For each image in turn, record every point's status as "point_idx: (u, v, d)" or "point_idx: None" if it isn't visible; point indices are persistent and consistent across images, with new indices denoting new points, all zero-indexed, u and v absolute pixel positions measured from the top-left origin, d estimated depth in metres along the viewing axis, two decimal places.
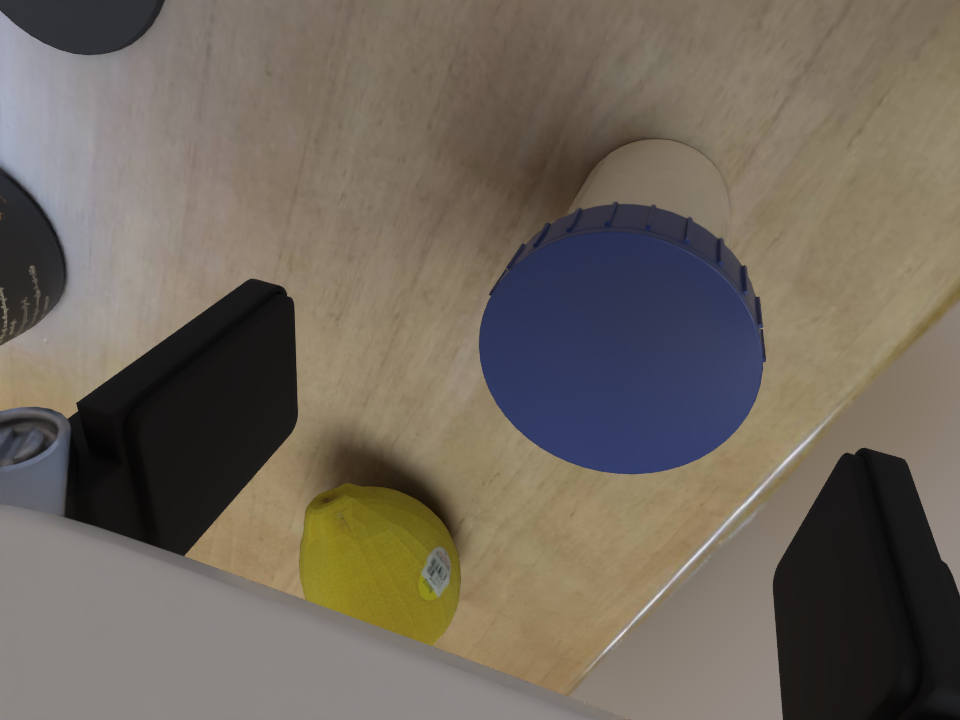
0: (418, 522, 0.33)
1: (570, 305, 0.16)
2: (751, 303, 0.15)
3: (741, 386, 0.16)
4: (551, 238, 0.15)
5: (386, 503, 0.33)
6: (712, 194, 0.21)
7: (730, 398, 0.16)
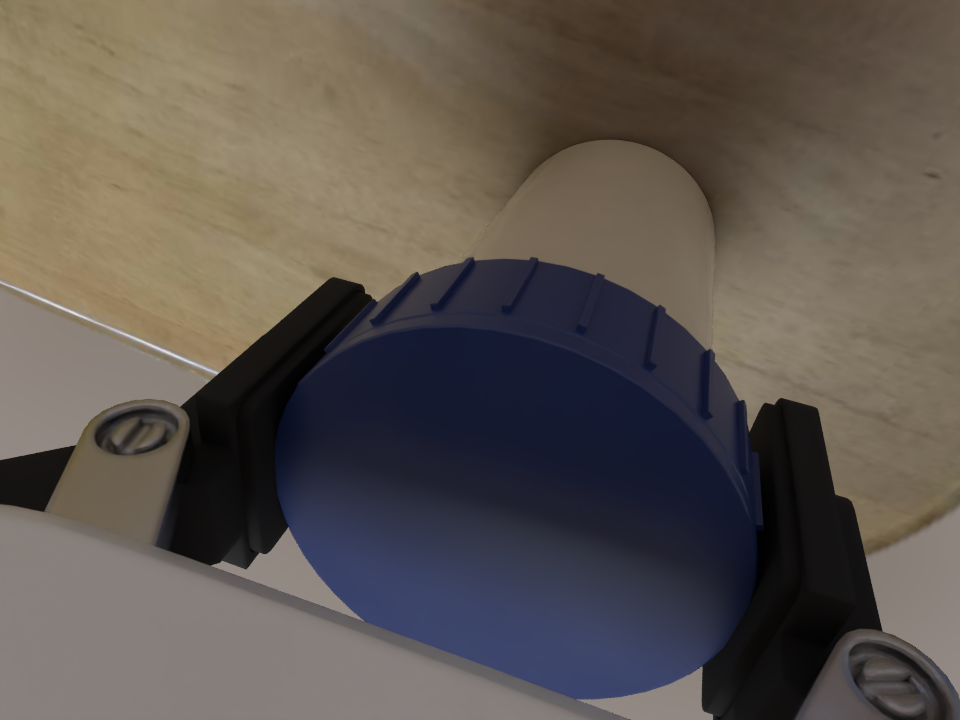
0: None
1: (596, 494, 0.08)
2: None
3: None
4: (726, 448, 0.08)
5: None
6: None
7: (485, 665, 0.11)
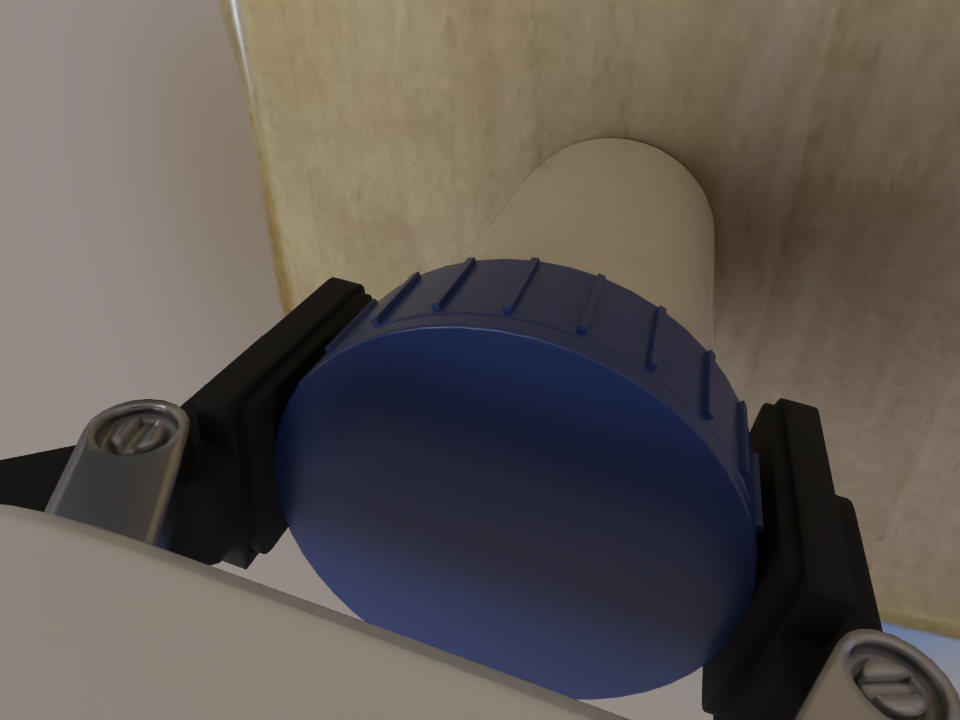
0: None
1: (597, 494, 0.08)
2: None
3: None
4: (726, 448, 0.08)
5: None
6: None
7: (484, 665, 0.11)
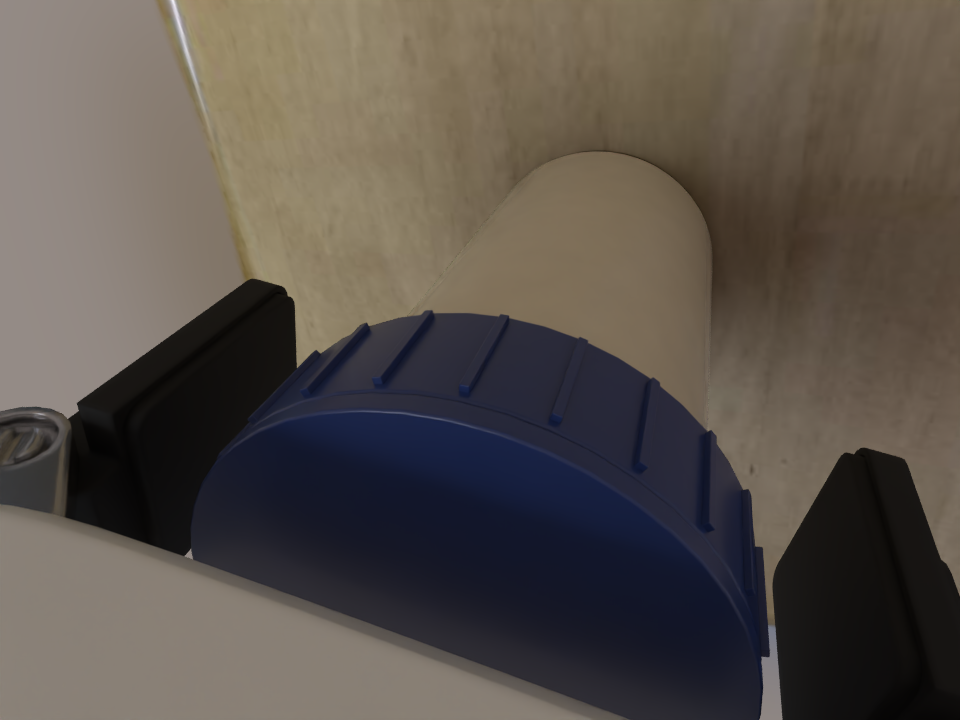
0: None
1: (536, 581, 0.07)
2: None
3: None
4: (674, 503, 0.06)
5: None
6: None
7: None
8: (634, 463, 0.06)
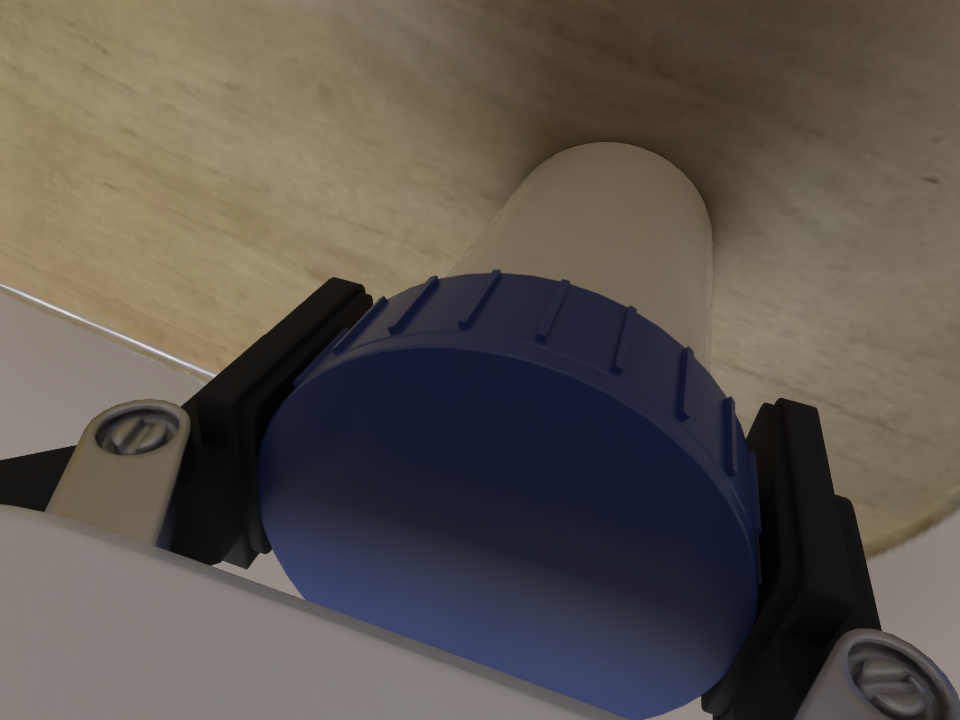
0: None
1: (401, 466, 0.08)
2: (741, 486, 0.08)
3: (716, 632, 0.08)
4: (360, 343, 0.08)
5: None
6: None
7: (695, 647, 0.08)
8: (334, 353, 0.08)
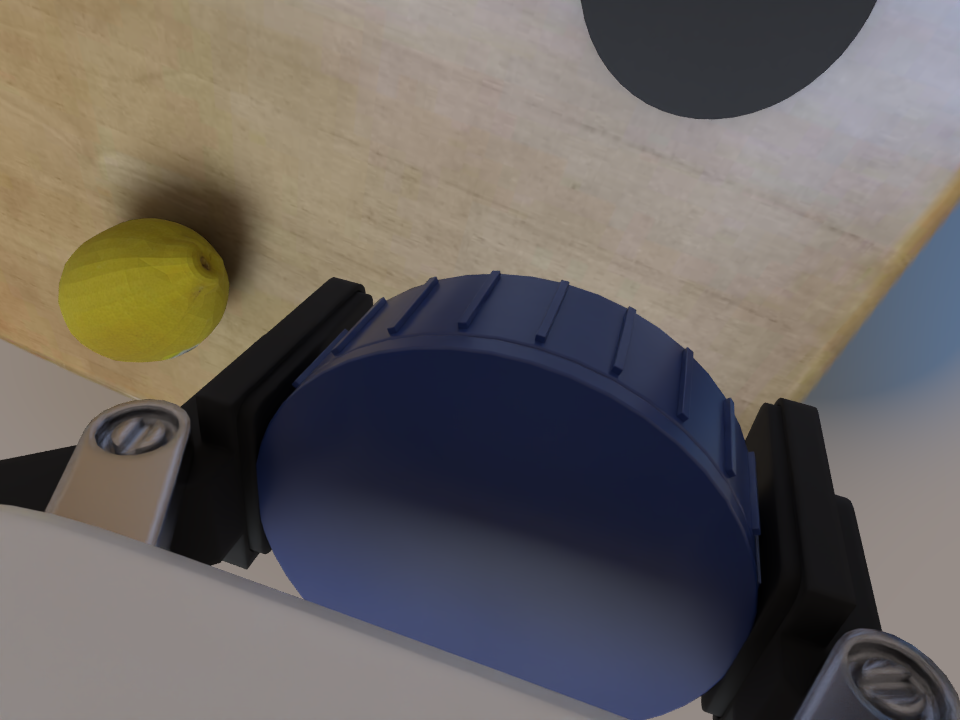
0: (218, 322, 0.38)
1: (400, 467, 0.08)
2: (740, 487, 0.08)
3: (715, 633, 0.08)
4: (360, 344, 0.08)
5: (222, 299, 0.37)
6: None
7: (694, 647, 0.08)
8: (334, 354, 0.08)
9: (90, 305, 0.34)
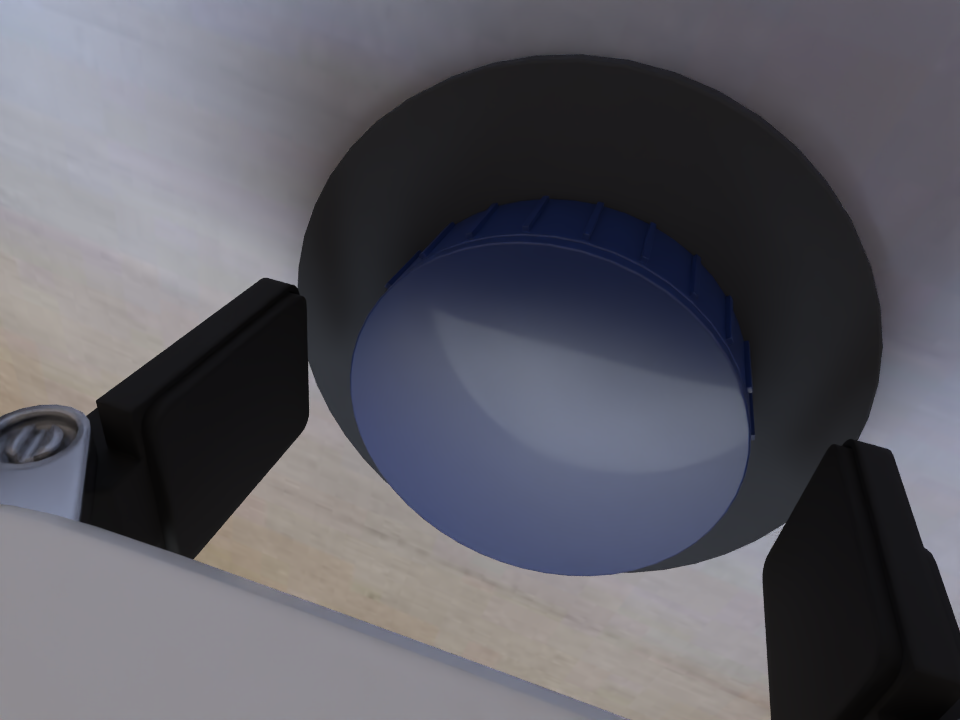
0: None
1: (472, 346, 0.11)
2: (737, 355, 0.10)
3: (718, 474, 0.11)
4: (444, 248, 0.10)
5: None
6: None
7: (701, 489, 0.11)
8: (421, 258, 0.11)
9: None
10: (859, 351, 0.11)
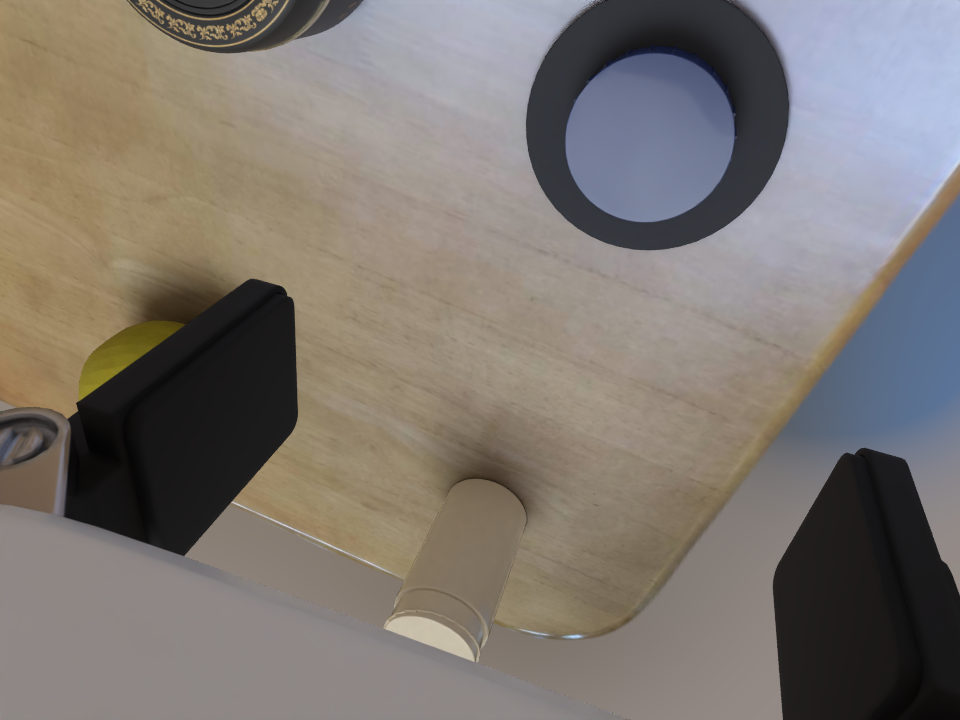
0: None
1: (624, 102, 0.27)
2: (729, 101, 0.26)
3: (722, 152, 0.27)
4: (615, 60, 0.26)
5: None
6: None
7: (715, 161, 0.27)
8: (604, 67, 0.27)
9: None
10: (779, 107, 0.27)
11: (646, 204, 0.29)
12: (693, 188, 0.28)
